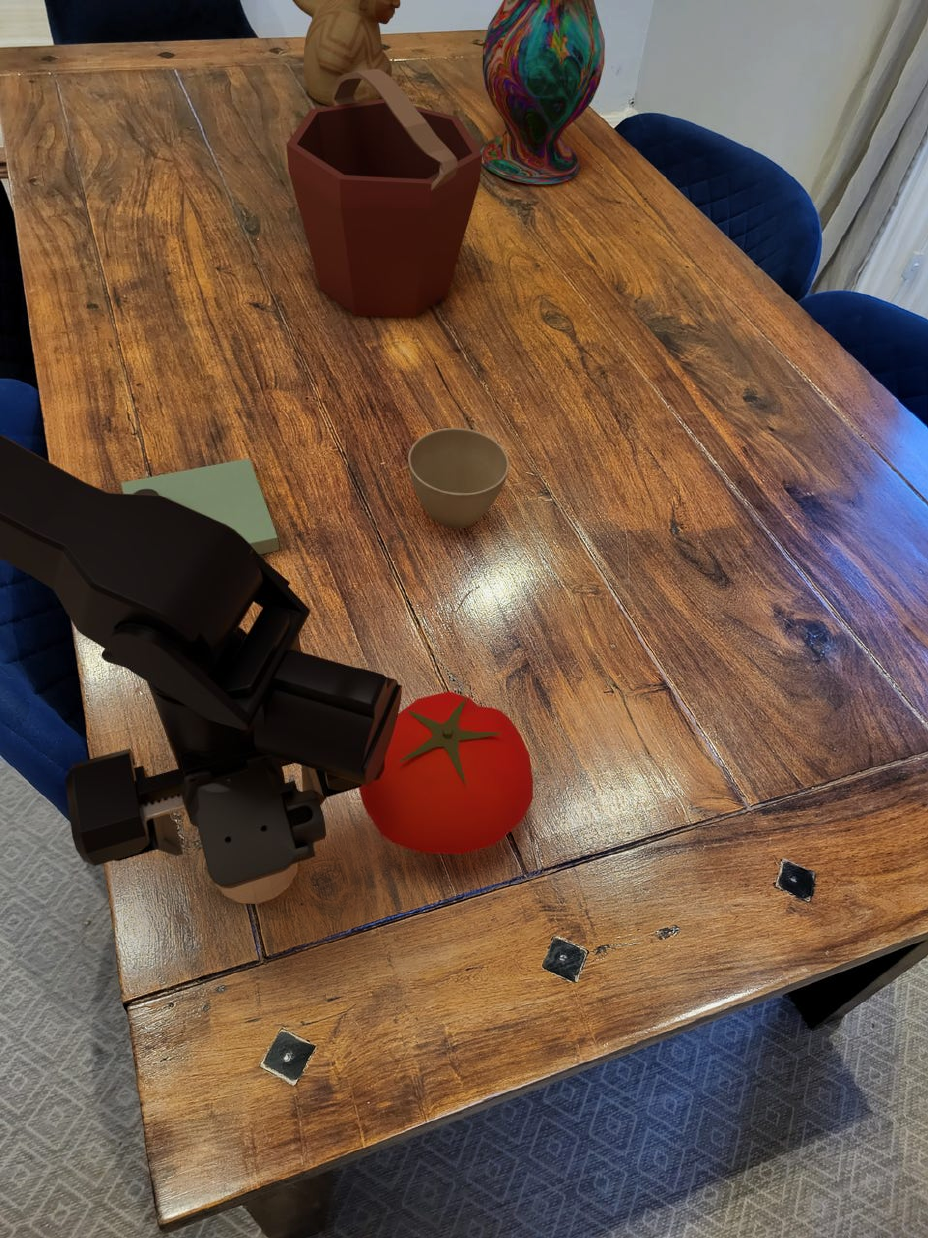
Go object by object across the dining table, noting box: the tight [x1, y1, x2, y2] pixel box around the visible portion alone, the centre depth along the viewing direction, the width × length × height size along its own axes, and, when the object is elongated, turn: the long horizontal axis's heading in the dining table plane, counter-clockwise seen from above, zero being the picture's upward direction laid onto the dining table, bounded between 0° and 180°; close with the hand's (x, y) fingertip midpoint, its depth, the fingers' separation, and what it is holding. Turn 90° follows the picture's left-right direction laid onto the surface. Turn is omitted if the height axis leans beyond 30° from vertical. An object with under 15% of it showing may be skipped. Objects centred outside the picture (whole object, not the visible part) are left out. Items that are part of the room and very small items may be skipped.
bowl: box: [214, 862, 300, 905], centre depth 65 cm, size 6×6×4 cm
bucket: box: [286, 69, 483, 319], centre depth 108 cm, size 24×22×25 cm
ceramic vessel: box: [291, 0, 402, 107], centre depth 145 cm, size 17×20×25 cm
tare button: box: [134, 489, 159, 495], centre depth 84 cm, size 3×3×2 cm
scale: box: [120, 458, 280, 556], centre depth 86 cm, size 14×12×4 cm
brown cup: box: [407, 427, 510, 530], centre depth 89 cm, size 10×10×7 cm
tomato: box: [358, 690, 534, 855], centre depth 66 cm, size 13×12×11 cm
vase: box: [480, 0, 606, 185], centre depth 132 cm, size 18×18×30 cm
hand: (245, 828), depth 61 cm, fingers open, 9 cm apart
